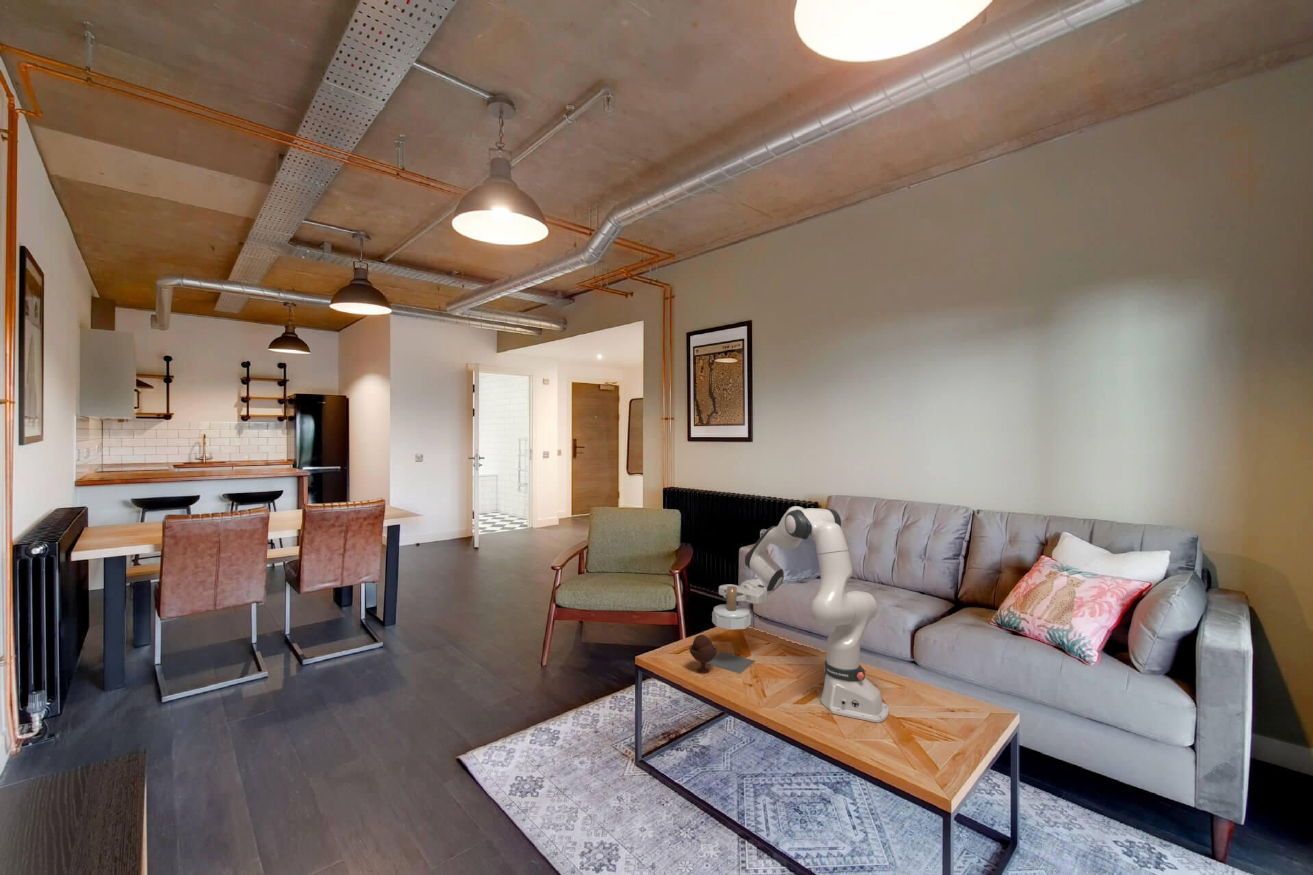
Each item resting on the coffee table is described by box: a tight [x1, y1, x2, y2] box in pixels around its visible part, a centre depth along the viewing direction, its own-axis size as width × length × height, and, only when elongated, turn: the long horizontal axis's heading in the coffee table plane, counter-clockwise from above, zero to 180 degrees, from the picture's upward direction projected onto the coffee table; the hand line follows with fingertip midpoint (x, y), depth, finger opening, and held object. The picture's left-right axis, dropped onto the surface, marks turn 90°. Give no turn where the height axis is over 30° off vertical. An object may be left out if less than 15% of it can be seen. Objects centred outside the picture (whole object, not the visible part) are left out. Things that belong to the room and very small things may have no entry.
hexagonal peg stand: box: [711, 586, 752, 631], centre depth 230 cm, size 15×15×14 cm
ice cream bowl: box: [689, 634, 718, 675], centre depth 221 cm, size 11×11×15 cm
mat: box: [705, 651, 756, 674], centre depth 230 cm, size 16×15×1 cm
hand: (730, 597), depth 229 cm, fingers closed on hexagonal peg stand, 4 cm apart
